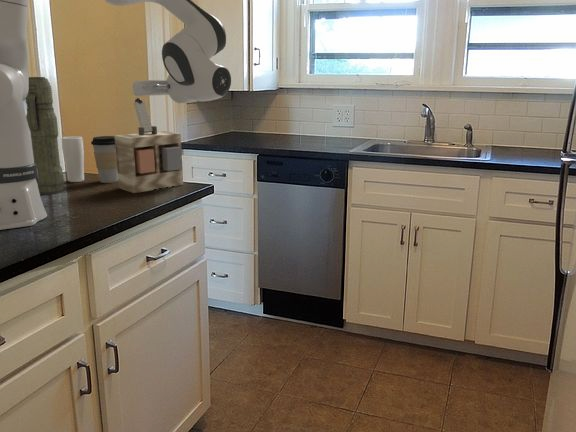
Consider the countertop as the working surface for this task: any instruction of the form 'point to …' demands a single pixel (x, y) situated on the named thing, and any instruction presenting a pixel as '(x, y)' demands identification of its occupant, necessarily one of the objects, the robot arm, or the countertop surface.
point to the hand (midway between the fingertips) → (153, 89)
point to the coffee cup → (105, 158)
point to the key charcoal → (171, 158)
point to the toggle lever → (143, 115)
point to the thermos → (44, 135)
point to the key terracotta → (144, 160)
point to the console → (160, 177)
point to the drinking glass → (73, 157)
